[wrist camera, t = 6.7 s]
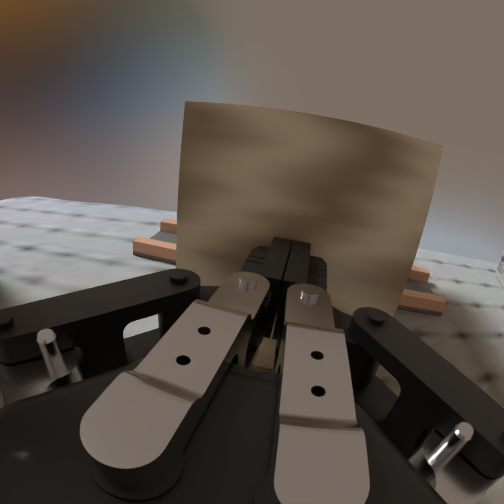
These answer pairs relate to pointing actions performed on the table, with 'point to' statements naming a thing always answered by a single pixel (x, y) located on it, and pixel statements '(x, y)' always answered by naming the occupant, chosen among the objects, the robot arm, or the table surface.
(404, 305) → the grey-green piece
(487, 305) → the table surface
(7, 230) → the table surface
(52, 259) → the table surface
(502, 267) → the container
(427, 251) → the table surface
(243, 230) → the ash block
